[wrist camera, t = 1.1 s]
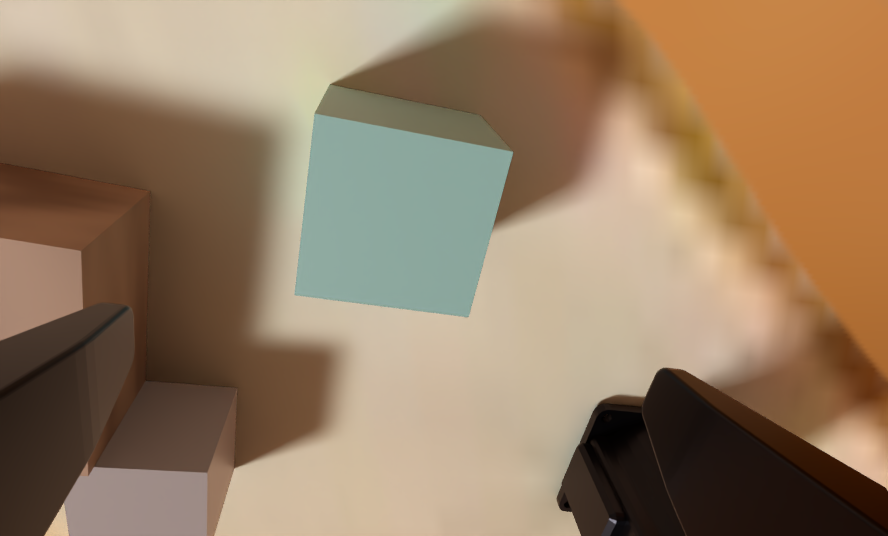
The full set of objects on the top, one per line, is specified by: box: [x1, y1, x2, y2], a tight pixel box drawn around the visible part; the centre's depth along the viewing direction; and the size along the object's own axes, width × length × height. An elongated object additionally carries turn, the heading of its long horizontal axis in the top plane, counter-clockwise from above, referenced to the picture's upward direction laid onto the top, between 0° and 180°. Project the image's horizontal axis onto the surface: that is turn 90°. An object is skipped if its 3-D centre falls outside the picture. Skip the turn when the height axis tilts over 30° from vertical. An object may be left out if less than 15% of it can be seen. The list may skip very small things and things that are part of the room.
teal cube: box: [295, 84, 513, 317], centre depth 17 cm, size 5×5×5 cm
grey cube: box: [64, 381, 237, 536], centre depth 21 cm, size 4×4×4 cm
